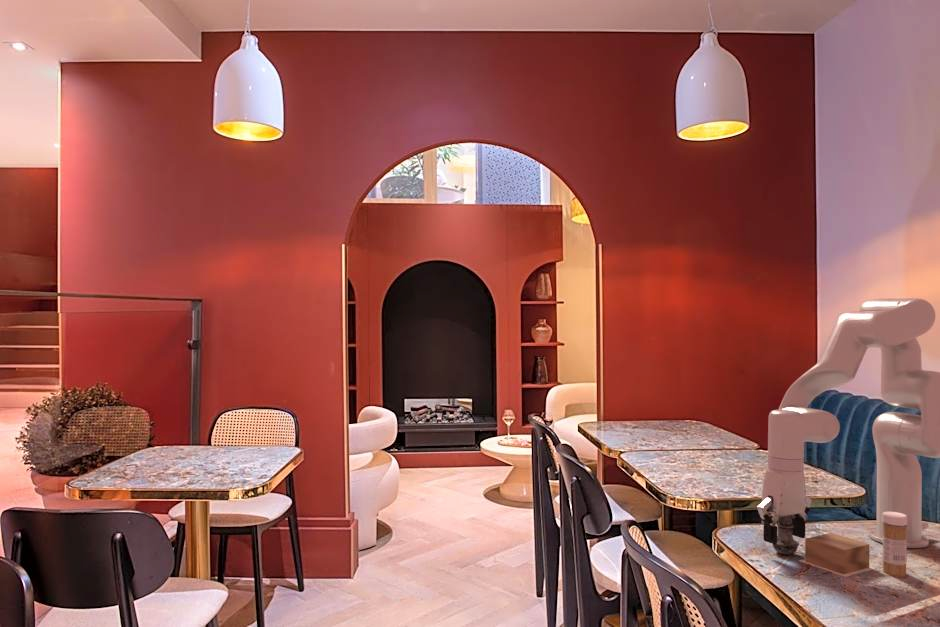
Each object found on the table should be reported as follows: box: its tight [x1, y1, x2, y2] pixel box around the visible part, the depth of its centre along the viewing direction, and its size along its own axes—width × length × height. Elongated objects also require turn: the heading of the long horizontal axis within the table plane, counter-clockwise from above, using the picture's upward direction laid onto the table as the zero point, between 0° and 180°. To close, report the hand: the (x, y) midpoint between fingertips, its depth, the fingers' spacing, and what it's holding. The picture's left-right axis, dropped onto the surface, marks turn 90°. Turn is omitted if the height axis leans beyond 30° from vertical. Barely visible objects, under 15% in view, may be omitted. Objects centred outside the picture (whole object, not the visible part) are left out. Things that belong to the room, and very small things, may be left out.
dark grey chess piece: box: [772, 515, 800, 556], centre depth 162 cm, size 6×6×12 cm
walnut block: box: [804, 532, 870, 574], centre depth 155 cm, size 9×9×5 cm
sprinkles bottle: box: [882, 512, 908, 578], centre depth 150 cm, size 5×5×14 cm
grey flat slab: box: [798, 558, 877, 578], centre depth 155 cm, size 16×12×1 cm
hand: (784, 539), depth 162 cm, fingers open, 9 cm apart
